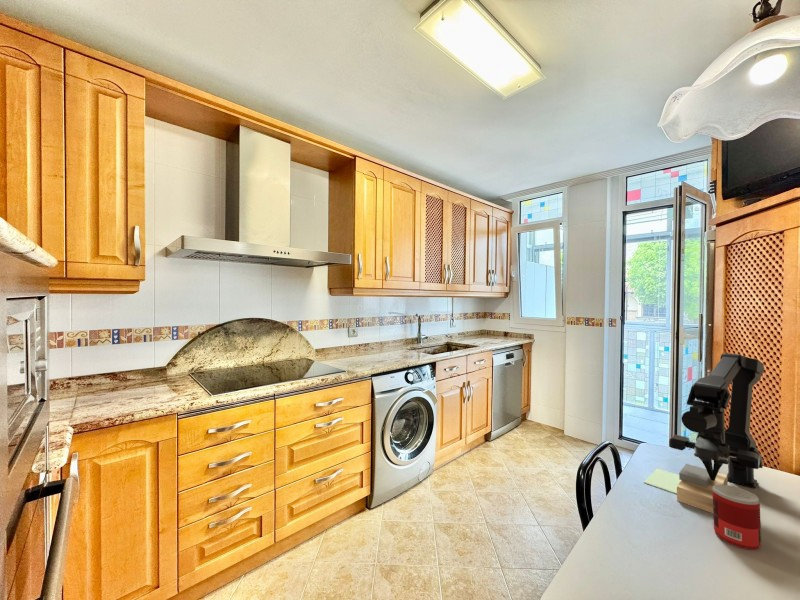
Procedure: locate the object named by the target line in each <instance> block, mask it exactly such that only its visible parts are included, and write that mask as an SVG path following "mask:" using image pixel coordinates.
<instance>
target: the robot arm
mask: <svg viewBox="0 0 800 600" xmlns="http://www.w3.org/2000/svg"><path fill="white" fill-rule="evenodd" d="M764 370H765V364H764V363H763V362H761V360H759V359H758V358H751V357H747V356H745V355H742V354H739V353H729V352H728V353H726V352H725V353H721V354H720V360H719V361H718V362H717V364H716V365H715V367H714V368H713V369H712V371H710V373H709V375H707V376H705V377H700V378H698V379H697V380H696V381H695V382H694V383H693V384H692V385H691V388H690V391H689V395H688V397H687V401H686V405H687V406H689V410H687V411H685V412H684V413H682V415H681V419H680V420H681V422H682V425H683V426H684V427H685V428H686V429H687V430H689V431H691V432H693V433H697V435H696V438H695V442H693V441H690V437H687V436H683V435H679V434H673V435H672V436H671V437H670V438H669V441H668V443H669V444H668V445H669V448H671V449H673V450H674V449H675V450H679V451H684V450H686V448H687V449H691V450H692V449H693V450H694V453H693V455H694V457H697V458H699V460H700V461H701V462H702V464H703V466H704V469H706V470H707V472H708V474H709V477H710V479H711V480H713V481H715V479H716V476H717V474H718V473H720V472H719V471H720V469H721V468H722V466H723V465H727V468H728V469H727V471H728V472H727V474H726V475H727V482H732V483H734V484H738V485H742V486H746V487H749V488H752V489H756V486H757V484H758V480H757V479H756V478H755V470H759V469H763V457H762V455H761V454H760V451H759V450H758V448H757V441H755V439H754V438H753V436H752V434H751V433H750V427H751V417H752V416H751V414H752V400H753V388H754V386H756V384H757V383H759V382H760V381H761V378H762V375H763V374H764V372H765V371H764ZM730 385H731V394H730V391H729V386H730ZM729 402H730V407H729V408H730V409H729V420H728V427H727V428H726V427H725V426H726V425H725V410H727V408H728V405H729ZM725 428H726V429H725Z"/></svg>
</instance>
